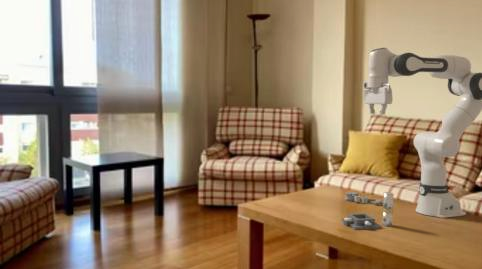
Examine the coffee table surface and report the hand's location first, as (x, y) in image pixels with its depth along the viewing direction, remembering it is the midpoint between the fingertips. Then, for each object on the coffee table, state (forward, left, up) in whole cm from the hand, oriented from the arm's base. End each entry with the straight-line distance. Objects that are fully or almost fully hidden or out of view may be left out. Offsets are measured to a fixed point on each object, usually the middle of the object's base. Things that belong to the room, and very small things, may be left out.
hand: (377, 114), depth 191 cm
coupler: (+1, +15, -48) cm, 50 cm away
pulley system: (-6, -28, -48) cm, 56 cm away
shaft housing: (+12, +12, -48) cm, 51 cm away
